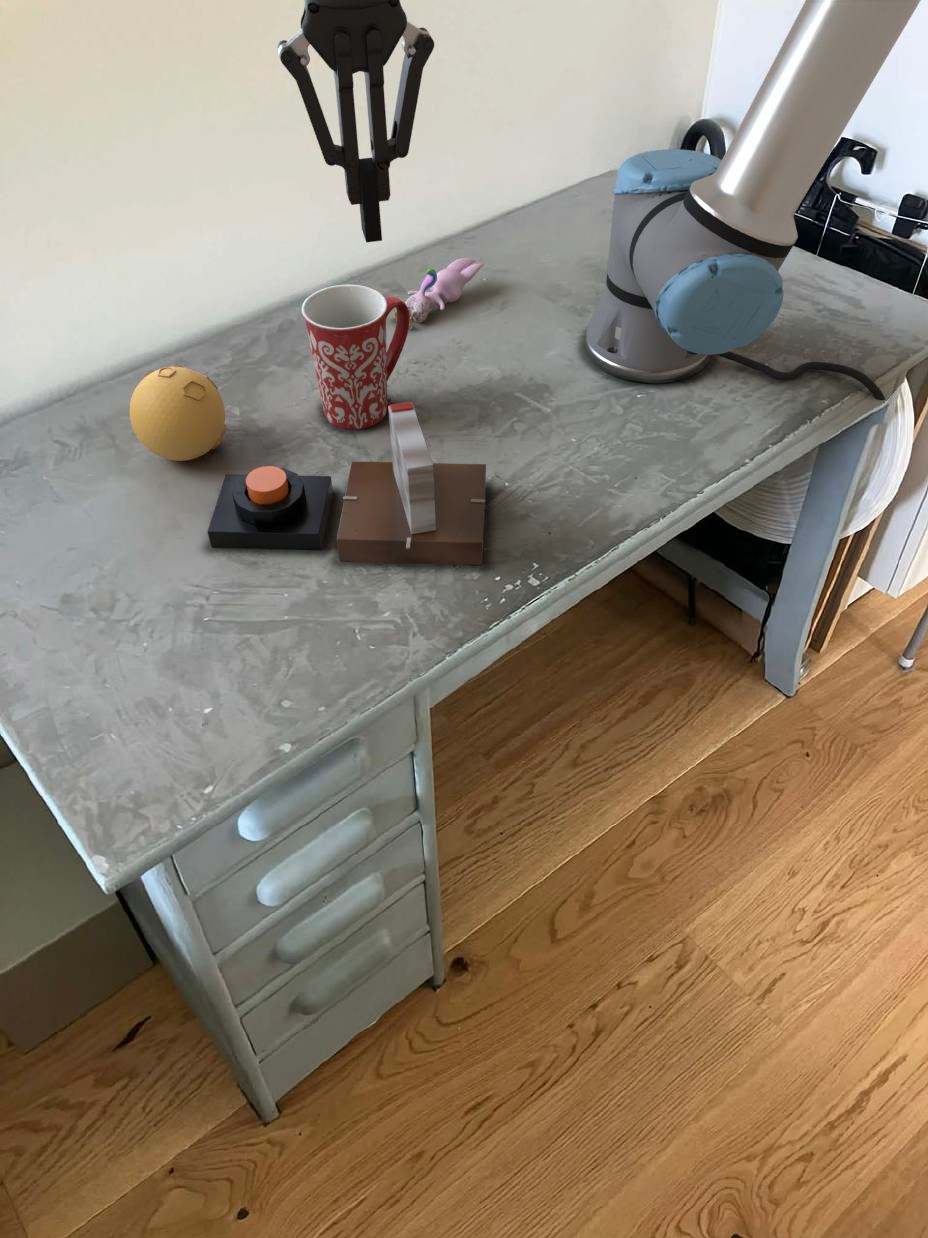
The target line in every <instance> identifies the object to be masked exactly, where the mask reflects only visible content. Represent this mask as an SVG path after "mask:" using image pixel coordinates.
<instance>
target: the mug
mask: <svg viewBox="0 0 928 1238" xmlns="http://www.w3.org/2000/svg"><path fill="white" fill-rule="evenodd" d="M394 309H395V311H396V310H397V322H395V323H396V324H395V329H394V330H393V335H392V338H391V340H390V342H389V346H388V348H387V318H388V316H389V314H391V312H392V311H393V310H394ZM300 312H301V315H302V317H303V319H304V322H305V327H306V332H307V337H308V341H309V346H310V351H311V355H312V361H313V365H314V370H315V375H316V380H317V384H318V385H317V386H318V389H319V393H320V398H321V403H322V404H321V405H322V409H323V413H324V416H325V418H326V420H327V421H328V422H329V424H331V425H333V426H334V427H336V428H339V429H342V430H351V431H354V430H364V429H367V428H370V427H373V426H375V425H377V424H379V423H380V422H381V421H382V420H383V419H384V418H385V417H386V415H387V412H388V406H389V404H388V381H389V380H390V377H391V375H392V373H393V372H394V370H395V367H396V366H397V363H398V361H399V359H400V356H401V354H402V352H403V349H404V347H405V345H406V344H405V343H406V341H407V337H408V334H409V330H410V326H409V319H410V318H409V310H408V307H407V305H406V304H405V301H403V300H401V299H400V298H397V297H395V296H387V297H385V296H384V295H383V294H382V293H381V292H379V291H378V290H376V289H374V288H371V287H368V286H365V285H360V284H337V285H330V286H327V287H325V288H324V287H323V288H322V289H321V288H320V289H318V290H317V291H315V292H313V293H312V294H310V295H309V296H307V298H305V299H304V302H302V304H301V311H300Z"/></svg>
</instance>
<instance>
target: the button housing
mask: <svg viewBox="0 0 928 1238" xmlns="http://www.w3.org/2000/svg"><path fill="white" fill-rule="evenodd" d="M279 468H280V469H282V470H283V471H284V472H285V473H286V476H287V482H288V488H289V493H288V495H287V497H286V498H284V499H283V500H282V501H279V502H276V503H273V504H257V503H254V502H253V501H252V500H251V499H250V498H249V495H248V490H247V485H246V477H247V476H248V474H249V473H250V472H251V471H250V472H248V473H246V474H245V473H243V474H242V473H241V474H240V473H226V474H225V477H224V480H223V483H222V485H221V489H220V491H219V494H218V498H217V500H216V504H215V507H214V511H213V514H212V517H211V519H210V522H209V526H208V529H207V536H208V539H209V543H210V547H211V549H245V550H246V549H248V550H281V551H282V550H286V551H287V550H288V551H322V548H323V543H324V538H325V534H326V530H327V529H326V528H327V523H328V519H329V514H330V511H331V504H332V500H333V495H334V488H333V482H332V476H330V475H299V474H297V473H296V472H294V471H291V470H289V469H286V468H284V467H279Z"/></svg>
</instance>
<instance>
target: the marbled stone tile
mask: <svg viewBox="0 0 928 1238" xmlns="http://www.w3.org/2000/svg"><path fill="white" fill-rule="evenodd" d="M387 411H388V422H389V423H388V424H389V432H390V433H389V435H390V447H391V449H390V450H391V460H392V461H391V462H393V472H394V475H395V479H396V482H397V486H398V489H399V493H400V496H401V499H402V503H403V506H404V510H405V513H406V517H407V520H408V524H409V527H410V530H411V534H417V533H423V532H429V531H435V530H436V521H435V496H434V471H433V463H434V462H433V460H432V457H431V454H430V451H429V448H428V444H427V442H426V439H425V436H424V433H423V430H422V427H421V424H420V421H419V418H418V415H417V412H416V408H415V406H414V404H413V402H412V401H407V402H400V403H392V404H389V405H387Z"/></svg>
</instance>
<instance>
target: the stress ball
mask: <svg viewBox="0 0 928 1238" xmlns="http://www.w3.org/2000/svg"><path fill="white" fill-rule="evenodd" d="M129 403H130V404H129V420H130V423H131V427H132V430H133V432H134V435H135V436H136V438H137V440H138V441H139V442H140V443H141V444H142V446H143V447H145V448H146V449H147V450H148V451H150V452H151V453H153V455H156V456H157V457H160V458H162V459H166V460H168V461H169V460H170V461H174V462H183V461H190V460H194V459H197V458H200V457H201V456H203V455H205V454H207V453H208V452H209V451H210V450H215V449H216V448H217V447H218V446H219V445H220V443H221V442H222V441H223V440H224V439H223V438H224V436H225V434H226V432H227V424H226V409H225V403H224V401H223V398H222V395H221V394H220V392H219V389H218V387H217V385H216V384H215V382H214V381H213V380H212V379H211V378H210V377H208V376H207V375H205V374H202V373H200V372H198V371H196V370H193V369H190V368H187V367H184V366H182V365H170V366H165V367H161V368H159V369H157V370H152V371H149V373H146V374H145V375H144V376H142V380H140V382H139V383H138V384H137V385H136V387H135V389H134V390H133V393H132V395H131V398H130V402H129Z"/></svg>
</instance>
